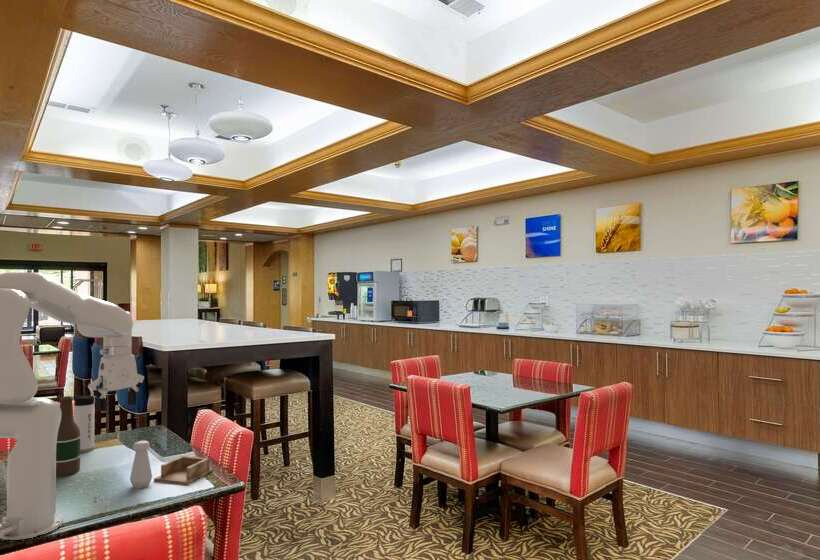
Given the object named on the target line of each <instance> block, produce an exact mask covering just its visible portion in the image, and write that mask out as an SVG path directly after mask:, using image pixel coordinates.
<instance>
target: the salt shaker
mask: <svg viewBox="0 0 820 560" xmlns="http://www.w3.org/2000/svg"><path fill="white" fill-rule="evenodd" d="M150 446H151V445H150V442H149V440H139V441H135V442H134V444H132V450H133V451H134V452H135V453H134V460H133V461H132V462H133V463H132V468H131V472H130V477H129V481H130V483H131V485H132V488H133V489H143V488H146V487H148V486H149V485H150V483H151V481H152V479H153V474H152V473H153V472H152V467H151V462H150V457H149V456H150V455H149V452H148V450H149V449H150Z"/></svg>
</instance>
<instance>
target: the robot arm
mask: <svg viewBox="0 0 820 560" xmlns="http://www.w3.org/2000/svg"><path fill="white" fill-rule="evenodd" d="M31 309H32V310H35V311H37V312H39V313H41V314H43V315H46V316H47V317H50V318H51V319H54V320H55V321H58V322H61V323H65V324H71V325H73V324H74V325H76V329H77V331H78V333H80V335H82V336H84V337H87V338H103V343H102V345H103V346H102V349H100V350H99V354H100V355H102V356H101V358H100V362H99V367H98V373H97V374H98V375H97V377H98V378H96V379H94V381H91V382H90V383H89V384H88V385H87V387H88V389H89V391H90V394H91V395H92V396H94V399H95V398H96V411H97V412H102V413H105V412H107V397H106V395H108V392H115V391H119V390H120V391H121V390H124V389H128V391H127V405H131V406H137V400H138V399H137V397H138V395H137V393H138V392H139V389H140V388H141V387H142V383H143V382H144V380H145V376H144V375H142V374H140V373H138V369H137V368H138V367H137V361H136V357H135V354H133V353H132V346H133V345H132V344H133V343H132V337H133V335H132V333H133V331H132V330H133V326H134V321H133V317H132V313H131V311H126V310H125V309H123V308H122V307H120V306H119V305H116V304H114V303H112V302H110V301H107V300H106V301H105V300H102V299H100V298H96V297H93V296H90V295H86V294H83V293H79V292H77V291H76V290H73V289H72V288H70V287H68V286H67V285H65V284H63V283H62V282H60V281H58V280H56V279H54V278H53V277H51V276H49V275H48V274H45V273H41V272H32V271H30V272H3V273H0V439H16V443H15V444H14V445H13V447H12V449H11V451H9V454H8V457H7V464H6V465H7V466H6V470H7V475H6V480H7V481H6V482H7V483H6V516H3V517H1V522H0V538H2V539H6V540H7V539H9V540H18V539H19V540H20V539H26V538H32V539H34V538H33V537H36V536H37V535H40V534H43V533H47V532H49V531H52V530H54V531H56V530H58V529H59V528H60V527H61V526H62V525H63V524H64V517H63V516H62V515H61V514H58V513H57V512H56V506H57V505H56V503H57V501H56V499H57V498H56V495H57V491H56V489H57V484H56V483H57V482H56V481H57V477H56V443H57V435H58V430H59V426H60V422H61V414H62V413H61V408H60V404H58V403H57V402H56V401H55V400H53V399H50V398H46V397H34V396H35V395H36V394H37V392H38V388H39V385H38V384H39V383H38V380H37V376H36V374H35V372H34V370H33V369H32V366H31V364H30V363H29V360H28V358H27V357H26V355H25V353H24V350H23V349H22V346H21V343H20V337H21V333H22V330H23V327H24V325H25V323H26V320H27V318H28V317H29V314H30V310H31ZM97 386H98V389H97ZM56 513H57V514H56ZM59 526H60V527H59ZM58 527H59V528H58ZM57 528H58V529H57ZM55 529H56V530H55ZM52 532H53V531H52ZM36 538H37V537H36Z"/></svg>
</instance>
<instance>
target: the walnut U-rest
mask: <svg viewBox="0 0 820 560" xmlns="http://www.w3.org/2000/svg"><path fill="white" fill-rule="evenodd" d="M210 461H211V459H210V457H209V458H208V457H199V456H190V455H189V456H188V455H181V456H178V457H176V458H174V459H172V460H170V461H167V462H164V463H163V464H161V466H160V475H159V476H156V477H155V478H153V482H158V483H166V484H172V485H173V484H175V485H182V484H183V485H184V486H189V485H190V483H191V484H193V483H194V482H196V481H197V479H198V480H200V479H202V478H203V476H204V475H206V474H207V475H209V474H211V473H213V472H214V468H210V464H211V463H210ZM212 471H213V472H212ZM210 472H211V473H210ZM208 473H209V474H208ZM207 475H206V476H207ZM201 477H202V478H201ZM204 477H205V476H204ZM199 478H200V479H199ZM188 484H189V485H188Z"/></svg>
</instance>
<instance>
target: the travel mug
mask: <svg viewBox="0 0 820 560" xmlns="http://www.w3.org/2000/svg"><path fill="white" fill-rule="evenodd" d="M72 397H73V399H74V406H73V407H74V409H73V418H74V422H75V423H76V424H77V425H78V427H79V430H80V454H82V453H88V452H90V451H93V450H94V449H95V403H96V402H95V396H94V395H90V394H89V395H88V394H83V395H81V394H80V395H76V394H74V395H73V396H72Z"/></svg>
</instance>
